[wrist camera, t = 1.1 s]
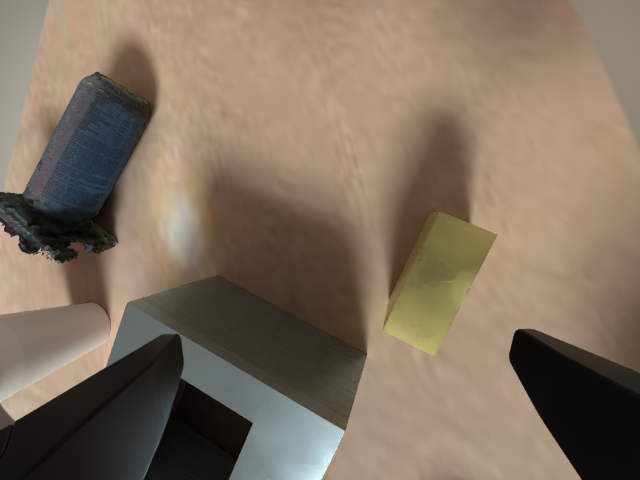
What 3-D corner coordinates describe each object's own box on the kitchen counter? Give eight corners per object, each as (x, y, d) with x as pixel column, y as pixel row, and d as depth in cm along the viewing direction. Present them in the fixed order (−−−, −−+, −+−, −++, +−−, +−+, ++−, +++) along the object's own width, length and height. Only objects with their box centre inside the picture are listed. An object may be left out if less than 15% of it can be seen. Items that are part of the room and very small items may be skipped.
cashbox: (367, 354, 21) (345, 431, 14) (293, 508, 24) (238, 648, 16) (216, 275, 24) (127, 302, 16) (162, 420, 26) (60, 505, 18)
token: (470, 229, 19) (497, 234, 14) (426, 317, 20) (434, 356, 15) (430, 213, 20) (440, 211, 14) (389, 299, 21) (382, 330, 15)
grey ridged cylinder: (128, 252, 28) (192, 125, 26) (46, 272, 20) (129, 93, 18) (36, 197, 28) (94, 67, 26) (-81, 196, 20) (-9, 11, 18)
